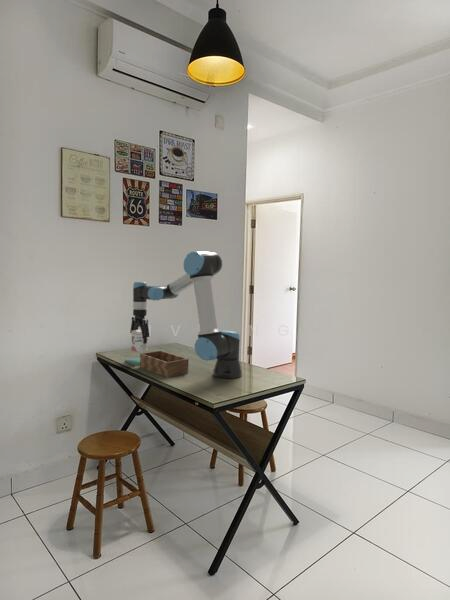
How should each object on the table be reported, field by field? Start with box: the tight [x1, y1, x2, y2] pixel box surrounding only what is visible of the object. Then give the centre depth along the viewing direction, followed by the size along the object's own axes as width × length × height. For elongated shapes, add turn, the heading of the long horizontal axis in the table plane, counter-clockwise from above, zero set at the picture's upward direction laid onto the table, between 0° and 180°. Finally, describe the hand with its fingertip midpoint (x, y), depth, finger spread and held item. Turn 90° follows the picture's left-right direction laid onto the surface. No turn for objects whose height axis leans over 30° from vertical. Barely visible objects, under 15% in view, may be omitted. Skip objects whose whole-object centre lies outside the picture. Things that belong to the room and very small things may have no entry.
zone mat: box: [124, 356, 140, 366], centre depth 241 cm, size 12×12×1 cm
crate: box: [139, 350, 189, 378], centre depth 225 cm, size 26×14×8 cm, turn 43°
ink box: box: [130, 329, 149, 353], centre depth 240 cm, size 9×5×12 cm, turn 62°
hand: (139, 347), depth 241 cm, fingers closed on ink box, 9 cm apart
